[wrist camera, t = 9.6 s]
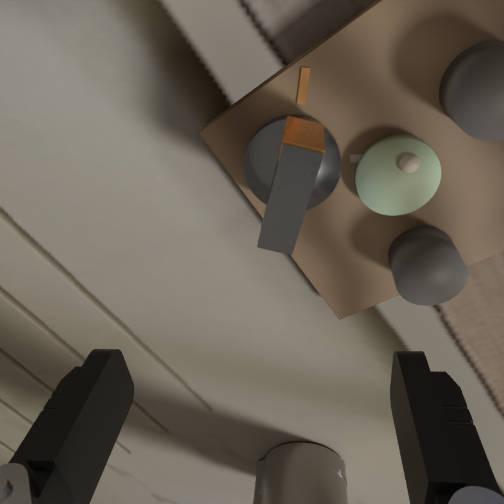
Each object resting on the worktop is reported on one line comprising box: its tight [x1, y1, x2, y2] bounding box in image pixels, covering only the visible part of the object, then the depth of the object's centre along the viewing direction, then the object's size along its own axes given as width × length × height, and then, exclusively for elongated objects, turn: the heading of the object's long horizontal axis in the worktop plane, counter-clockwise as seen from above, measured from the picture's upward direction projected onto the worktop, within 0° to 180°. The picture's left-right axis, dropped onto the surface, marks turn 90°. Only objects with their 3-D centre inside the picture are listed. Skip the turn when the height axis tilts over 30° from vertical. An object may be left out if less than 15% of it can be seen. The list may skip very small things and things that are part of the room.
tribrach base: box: [199, 0, 504, 320], centre depth 26 cm, size 18×18×5 cm
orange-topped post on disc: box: [244, 115, 341, 255], centre depth 24 cm, size 6×6×6 cm
